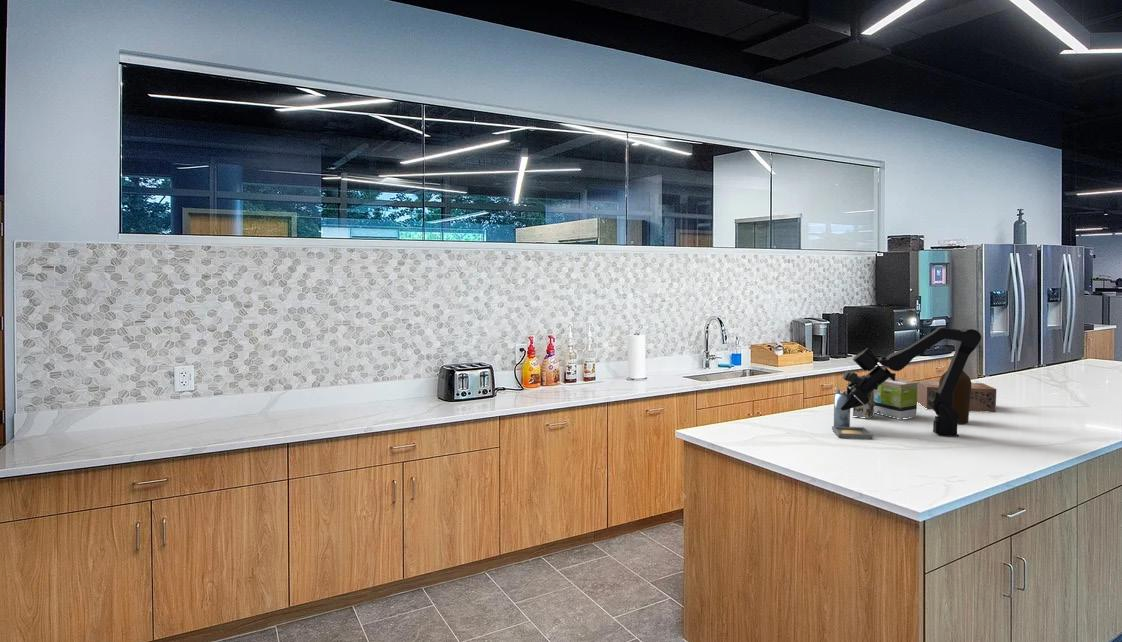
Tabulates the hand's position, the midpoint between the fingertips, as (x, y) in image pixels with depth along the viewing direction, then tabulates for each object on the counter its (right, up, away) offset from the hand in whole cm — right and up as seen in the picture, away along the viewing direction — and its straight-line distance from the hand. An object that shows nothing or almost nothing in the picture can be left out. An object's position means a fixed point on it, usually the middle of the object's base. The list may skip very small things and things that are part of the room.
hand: (840, 407), depth 233 cm
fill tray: (-1, -9, -10) cm, 13 cm away
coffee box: (+18, -7, +19) cm, 27 cm away
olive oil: (+48, -7, +8) cm, 49 cm away
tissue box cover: (+65, -5, +34) cm, 74 cm away
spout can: (+1, -8, 0) cm, 8 cm away
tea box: (+30, -6, +20) cm, 37 cm away
